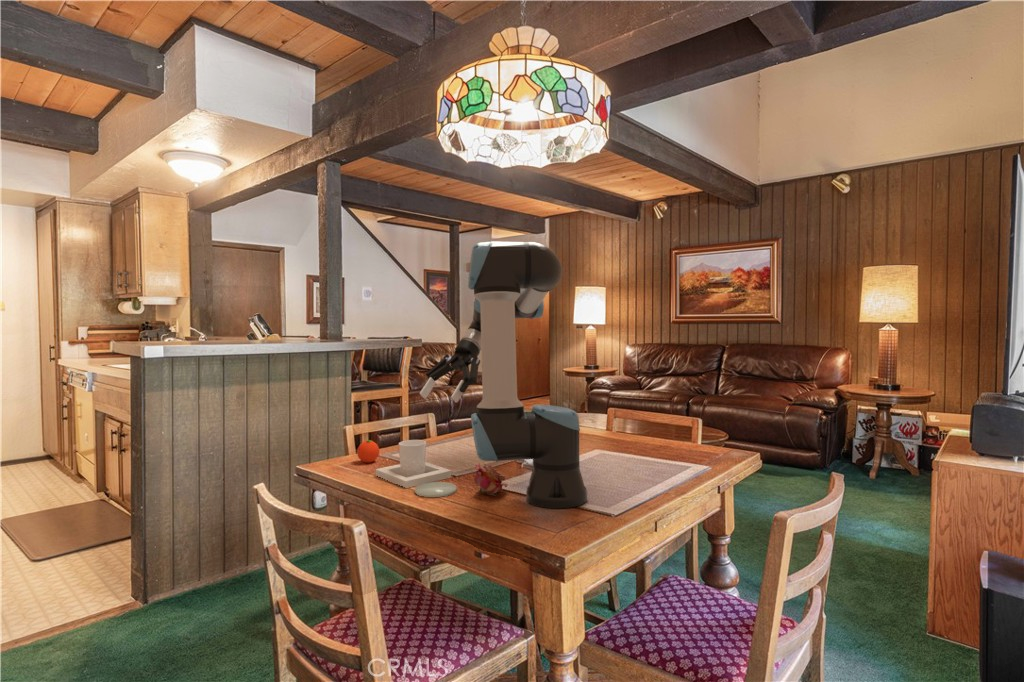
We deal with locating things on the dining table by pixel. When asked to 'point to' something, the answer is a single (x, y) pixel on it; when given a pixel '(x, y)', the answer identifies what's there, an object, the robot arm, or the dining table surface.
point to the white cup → (412, 457)
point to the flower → (488, 479)
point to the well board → (393, 475)
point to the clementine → (368, 451)
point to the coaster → (435, 489)
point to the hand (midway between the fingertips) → (437, 398)
